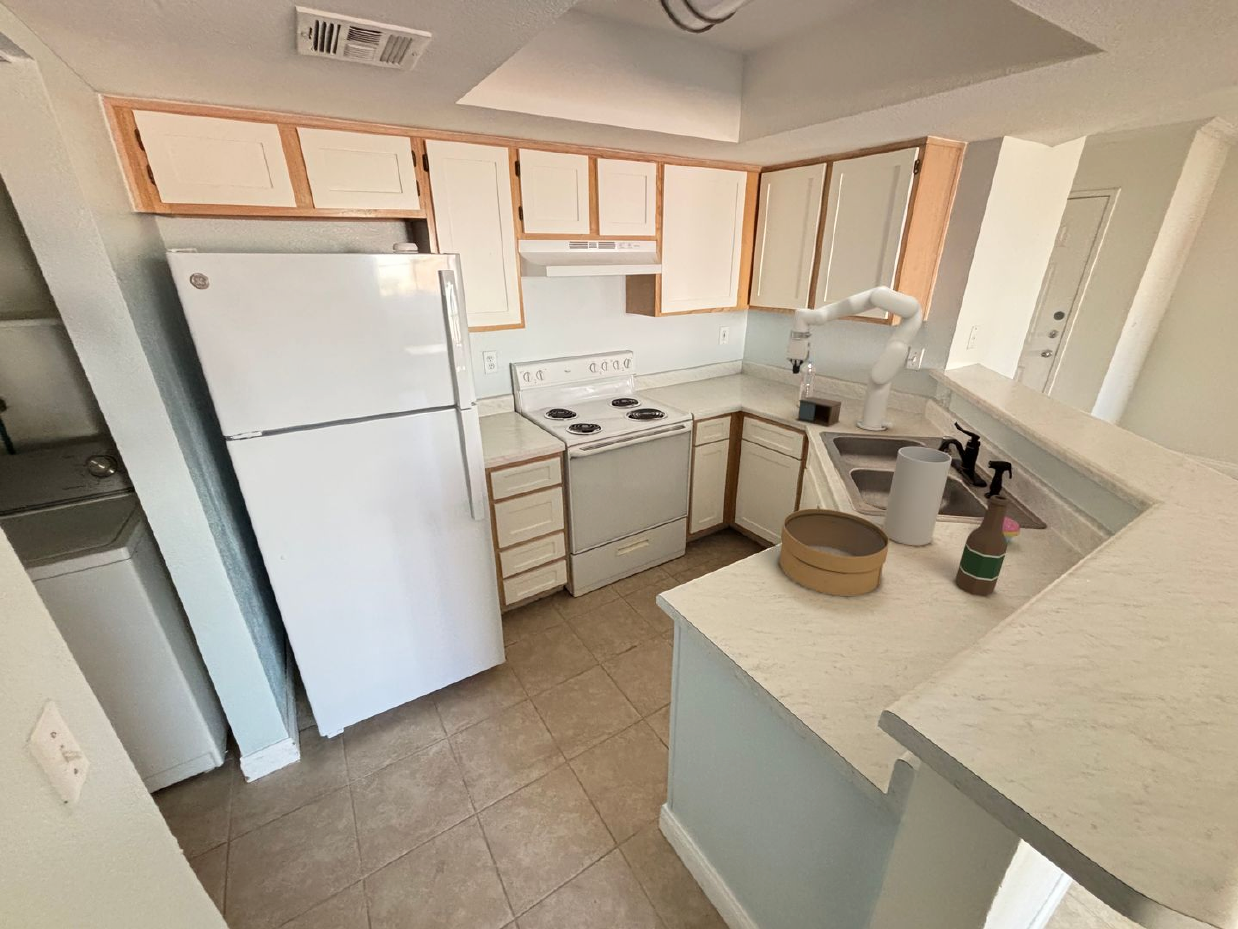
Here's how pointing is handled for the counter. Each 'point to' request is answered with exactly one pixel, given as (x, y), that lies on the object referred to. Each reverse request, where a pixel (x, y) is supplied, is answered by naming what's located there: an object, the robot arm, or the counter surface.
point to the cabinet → (824, 411)
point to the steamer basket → (832, 569)
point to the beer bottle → (984, 551)
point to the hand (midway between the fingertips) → (795, 373)
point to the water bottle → (807, 380)
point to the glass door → (806, 408)
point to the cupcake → (1010, 528)
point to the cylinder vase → (916, 495)
